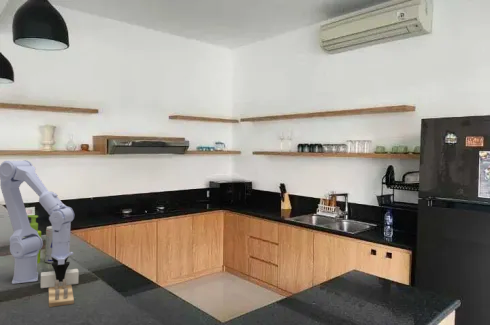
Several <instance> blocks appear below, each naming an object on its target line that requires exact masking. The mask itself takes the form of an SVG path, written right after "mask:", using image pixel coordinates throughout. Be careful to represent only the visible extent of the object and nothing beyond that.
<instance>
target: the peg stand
mask: <svg viewBox="0 0 490 325" xmlns="http://www.w3.org/2000/svg"><path fill="white" fill-rule="evenodd" d="M66 284H67V279H63V286H59V280H55V287H48V308H53V307H59V306H66V305H68V306H69V305H74V304H75V299H74V293H73V287H72V284H71V285H66Z"/></svg>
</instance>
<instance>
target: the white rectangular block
mask: <svg viewBox="0 0 490 325" xmlns="http://www.w3.org/2000/svg"><path fill="white" fill-rule="evenodd" d="M79 272H80V271H79V269H78V268H72V269H67V270H66V273H65V278H64V279H67V284H66V286H67V285H71V286H72V285H77V284H79V277H80V276H79V275H80V273H79ZM55 280H56V275H55V270H53V271H43V272H40V289H44V288H50V287H55ZM59 286H63V282H59Z"/></svg>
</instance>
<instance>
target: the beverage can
mask: <svg viewBox="0 0 490 325" xmlns="http://www.w3.org/2000/svg"><path fill="white" fill-rule="evenodd" d="M52 236H53V229H52V225H49V226H46V229H45V249H44V251H45V253H44V261H45V262H46V263H48V264H52V262H53V260H52V257H51V254H52Z"/></svg>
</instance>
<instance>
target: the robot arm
mask: <svg viewBox="0 0 490 325" xmlns="http://www.w3.org/2000/svg"><path fill="white" fill-rule="evenodd" d="M23 183H26V184H27V186H29V187H30V188H31V189H32V190H33V192H35V193H36V195H37V196H38V197H39V198H38V202H39V204H40V205H41V206H42V208H43V209H44V210H45V211H46V212H47V214H48V215H49V216H48V220H49V223H50V224H51V226H52V229H53V236H52V254H51V257H52V260H53V262H52V263H51V266H52V268H53V271H55V275H56V280H59V282H63V279H64V278H65V273H66V270H68V267H69V266H70V264H71V263H70V261H68V259H69V256H73V255H74V252H73V251H70V249H71V248H70V246H71V226H72V225H71V224H72V223H71V222H73V220H74V219H75V212H74V210H73V208H72V207H70V206H67V205H66V204H64V203H63V202H62V201H61V199H60V198H59V197H58V194H57V193H56V192H54V191H49V190H48V188H47V187H46V186H45V184H44V183H43V181H42V180H41V178H40V177H39V175H38V174H37V173H36V167H35V166H33V163H32V162H31V161H29V160H27V159H26V160H4V161H3V162H1V163H0V189H1V193H2V197H3V200H4V203H5V207H6V210H7V213H8V217H9V221H10V223H11V226H12V230H13V233H12V234H11V235H10V237H9V239H8V241H9V253H10V255H12V257H13V258H14V267H13V270H14V272H13V277H12V281H11V284H13V285H16V284H21V283H22V284H23V283H31V282H37V281H38V282H39V279H38V278H39V272H38V264H37V256H38V255H37V254H38V253H39V250H40V249H42V248H43V245H44V244H43V243H44V242H43V239H42V236H41V237H40V236H39V235H38V232H37V231H36V230H35V229H33V228H31V226H30V223H31V222H30V220H29V217H28V216H27V215H28V213H27V209H26V207H25V204H24V200H23V196H22V194H21V190H20V187H21V185H22V184H23ZM25 237H26V238H25Z"/></svg>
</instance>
